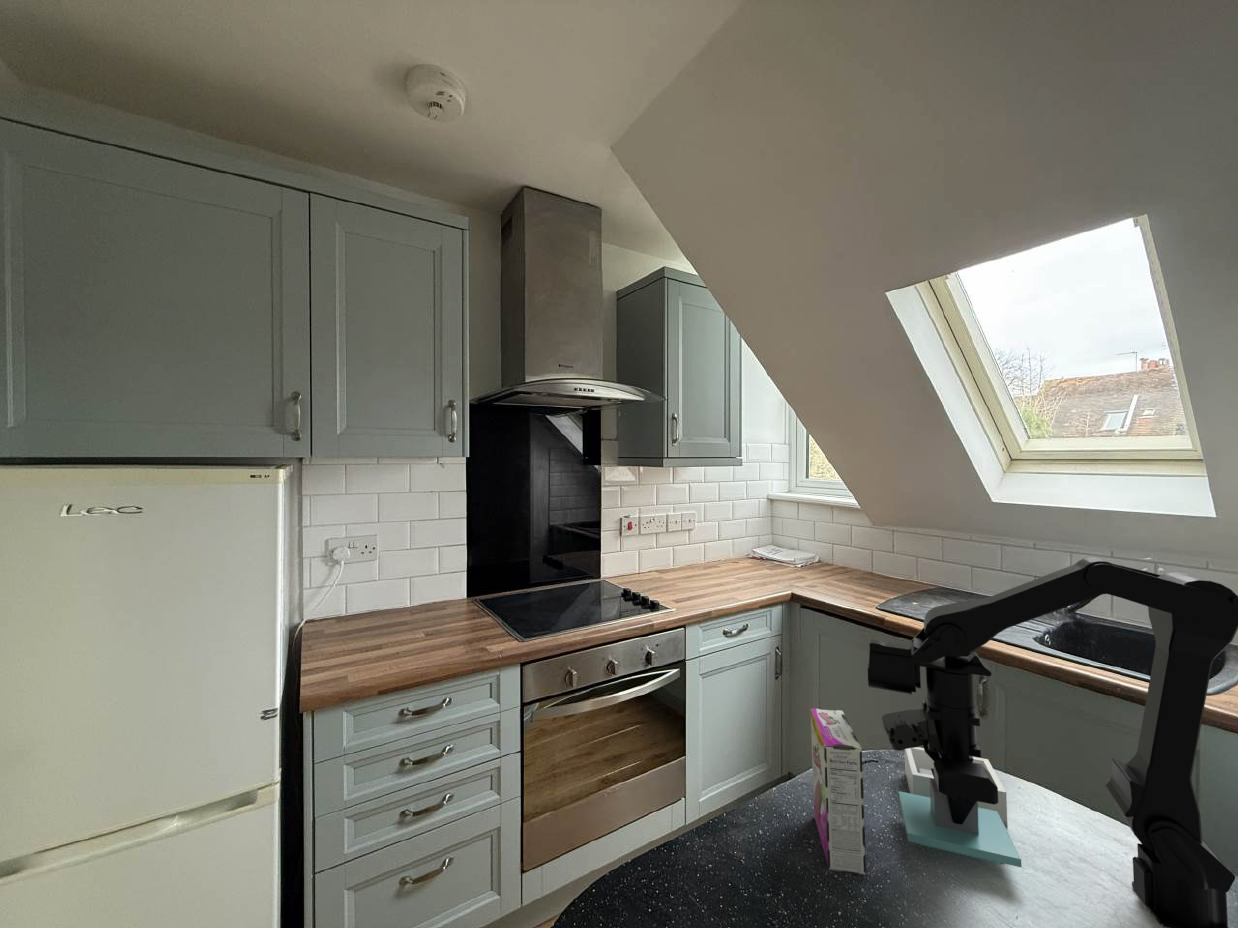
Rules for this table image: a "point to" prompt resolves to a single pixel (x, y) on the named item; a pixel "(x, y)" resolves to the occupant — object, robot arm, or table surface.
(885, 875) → the table surface
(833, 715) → the candy bar box
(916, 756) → the storage box
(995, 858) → the lid
